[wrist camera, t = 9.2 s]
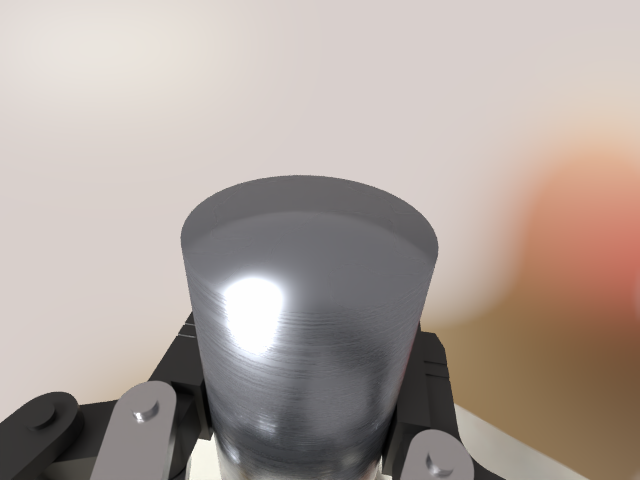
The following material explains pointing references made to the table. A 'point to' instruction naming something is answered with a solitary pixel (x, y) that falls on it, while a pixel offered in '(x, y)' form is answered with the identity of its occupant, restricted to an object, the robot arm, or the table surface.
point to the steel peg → (305, 321)
